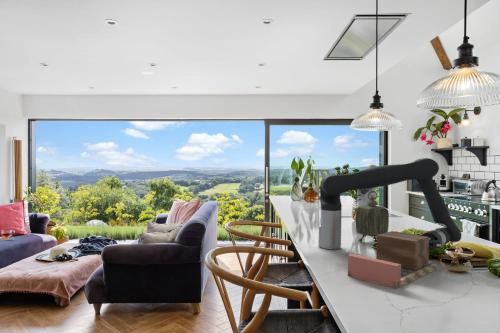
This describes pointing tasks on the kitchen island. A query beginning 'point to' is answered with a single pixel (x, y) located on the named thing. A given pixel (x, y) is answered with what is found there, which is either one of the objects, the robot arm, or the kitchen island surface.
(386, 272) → the roller track
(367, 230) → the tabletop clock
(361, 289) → the kitchen island surface
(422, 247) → the brown cardboard box
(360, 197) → the juice carton
